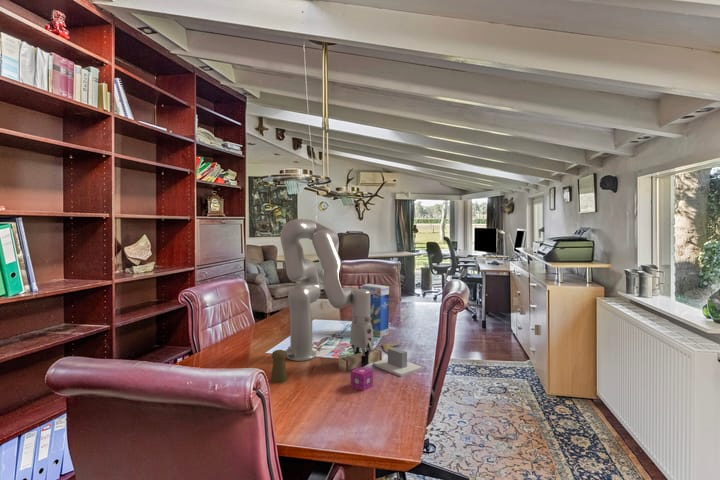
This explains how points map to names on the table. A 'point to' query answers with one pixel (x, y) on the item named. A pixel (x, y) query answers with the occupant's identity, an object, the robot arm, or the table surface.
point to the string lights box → (378, 308)
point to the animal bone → (389, 346)
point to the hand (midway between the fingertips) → (361, 362)
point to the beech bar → (359, 360)
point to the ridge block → (397, 363)
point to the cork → (279, 367)
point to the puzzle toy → (362, 378)
